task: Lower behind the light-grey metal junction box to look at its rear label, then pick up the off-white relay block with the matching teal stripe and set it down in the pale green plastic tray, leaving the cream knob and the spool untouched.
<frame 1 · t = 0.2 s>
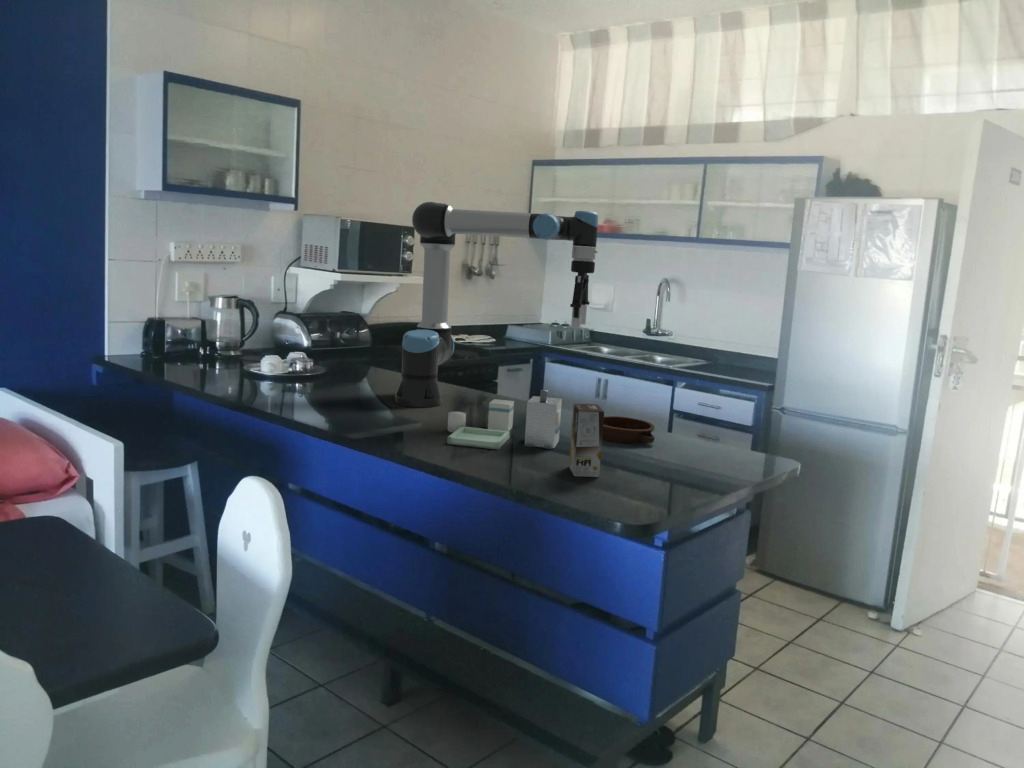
hand: (578, 326, 269), 28 cm above the worktop, fingers open, 13 cm apart
junction box: (542, 443, 227), on the worktop
relay block: (500, 428, 241), on the worktop
cream knob: (456, 430, 236), on the worktop
tray: (479, 440, 225), on the worktop
coffee box: (583, 472, 201), on the worktop
dish: (621, 439, 238), on the worktop
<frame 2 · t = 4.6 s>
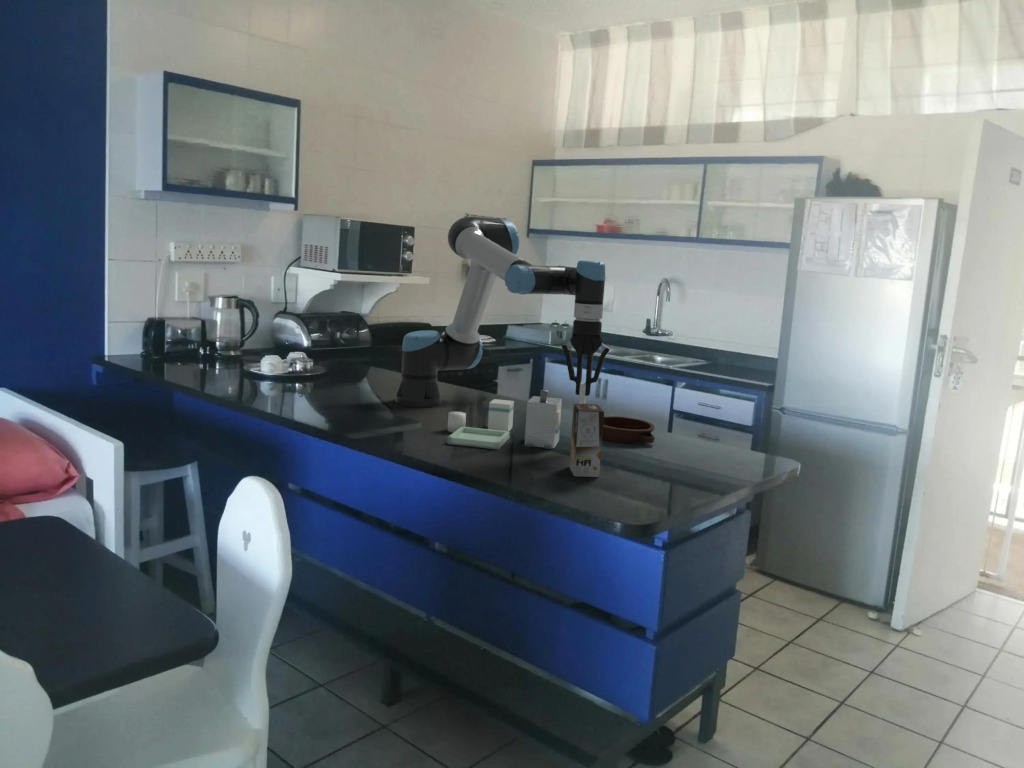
hand: (581, 407, 223), 11 cm above the worktop, fingers closed
nothing on the worktop moved.
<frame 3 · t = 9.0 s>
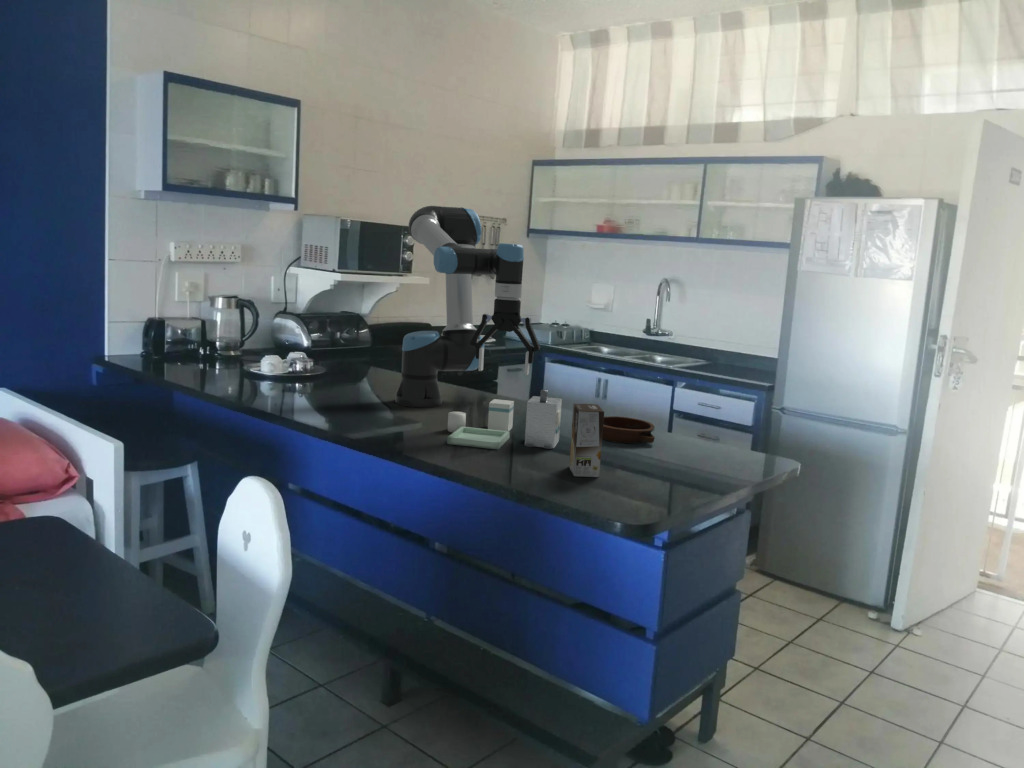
hand: (503, 372, 238), 17 cm above the worktop, fingers open, 13 cm apart
nothing on the worktop moved.
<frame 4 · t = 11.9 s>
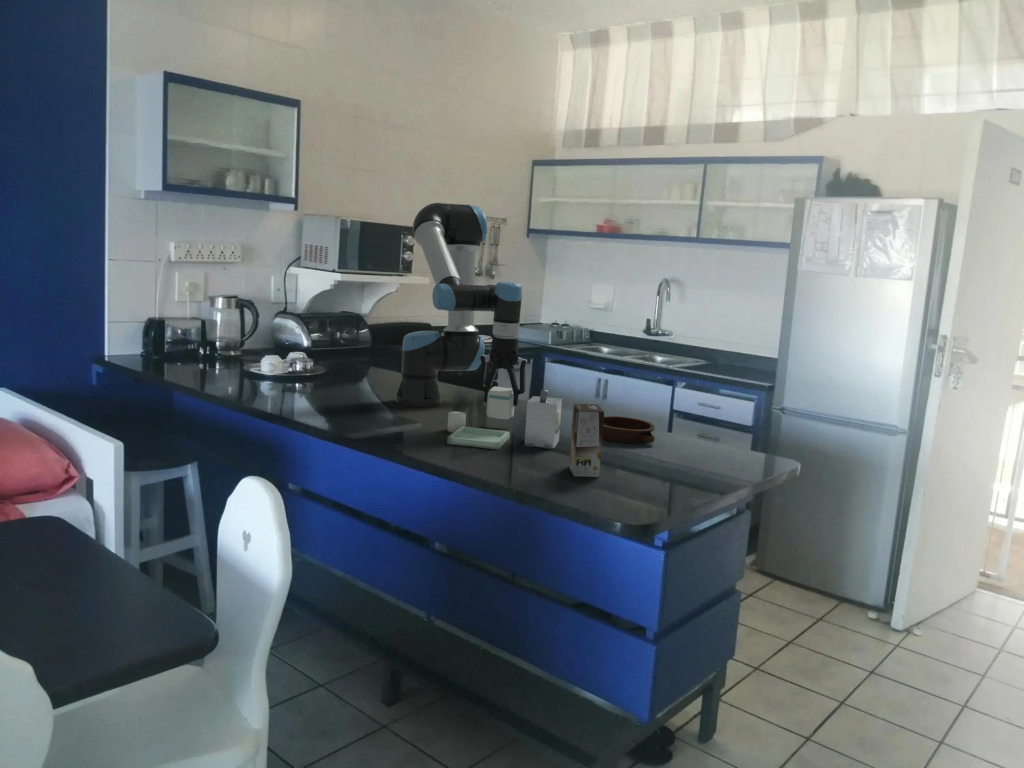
hand: (500, 414, 241), 4 cm above the worktop, fingers closed on relay block, 6 cm apart
relay block: (499, 416, 241), point 4 cm above the worktop, touching gripper
everything else where it was.
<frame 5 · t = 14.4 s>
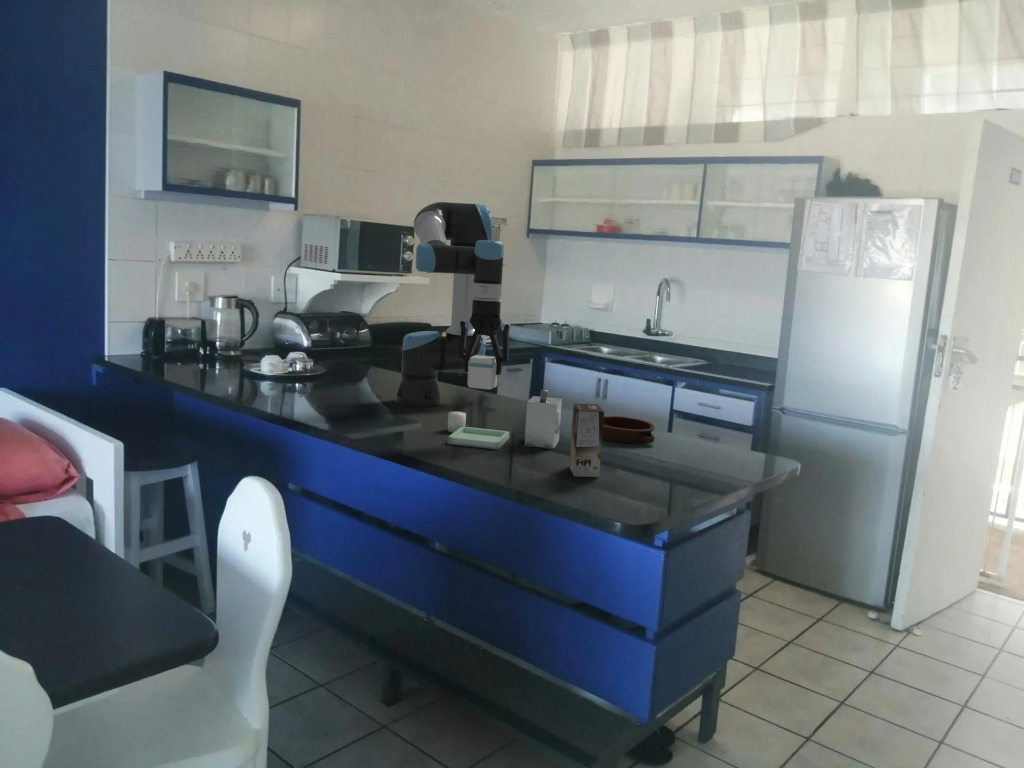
hand: (482, 385, 223), 15 cm above the worktop, fingers closed on relay block, 6 cm apart
relay block: (482, 386, 223), point 15 cm above the worktop, touching gripper
everything else where it was.
when the fingers open (1 cm above the worktop, at t = 17.1 s): relay block stays where it is, resting on tray.
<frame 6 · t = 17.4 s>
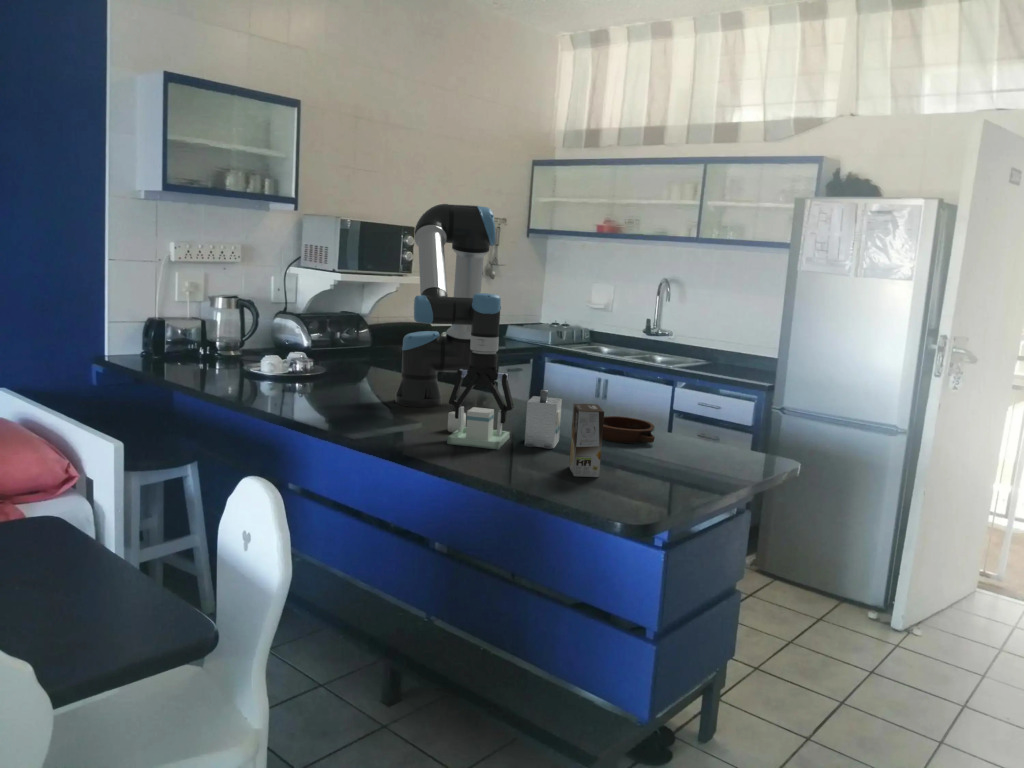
hand: (479, 432, 225), 2 cm above the worktop, fingers open, 10 cm apart
relay block: (479, 438, 225), resting on tray
everything else where it was.
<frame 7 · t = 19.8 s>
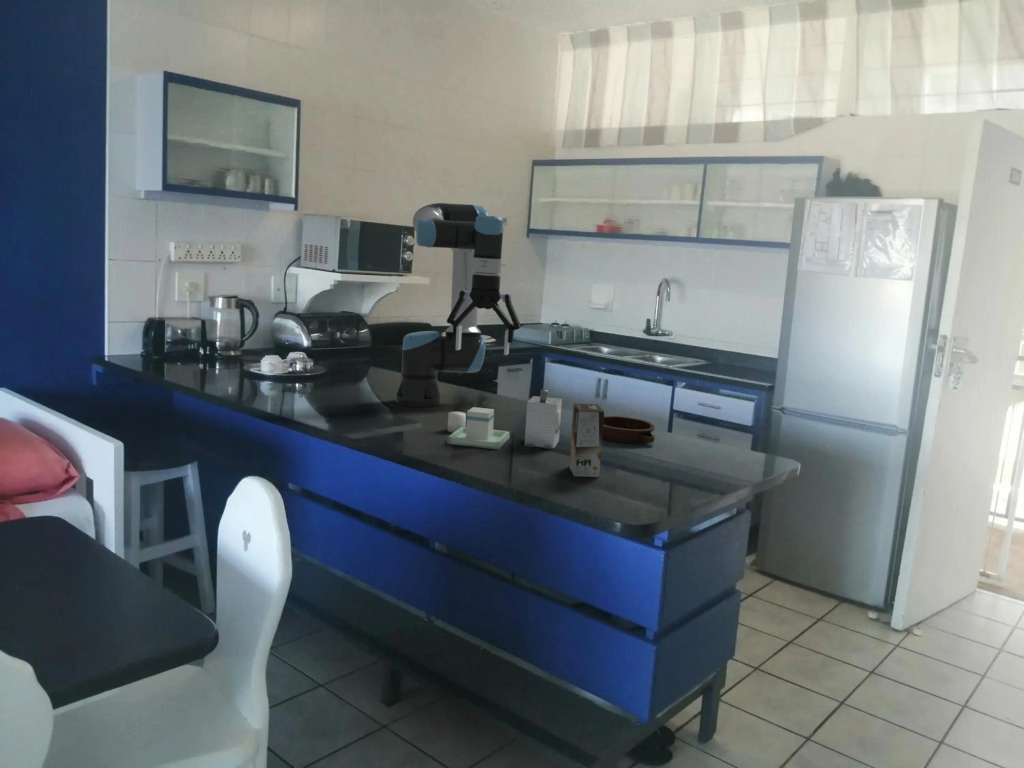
hand: (482, 352, 226), 24 cm above the worktop, fingers open, 13 cm apart
nothing on the worktop moved.
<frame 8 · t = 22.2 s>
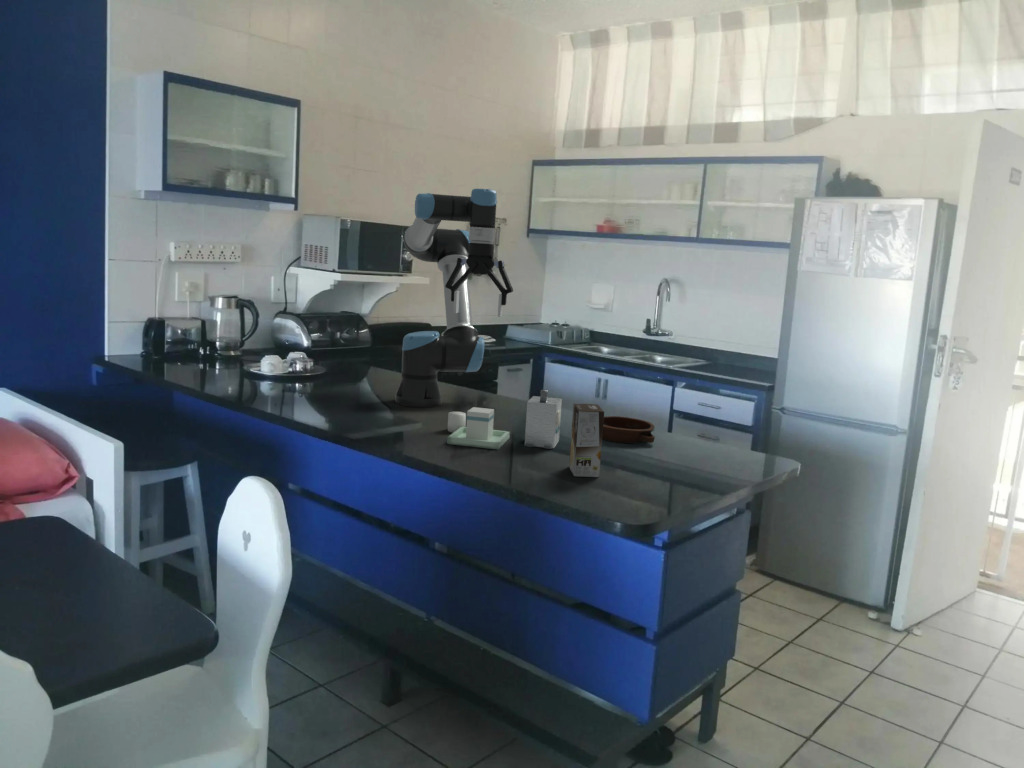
hand: (477, 314, 248), 32 cm above the worktop, fingers open, 13 cm apart
nothing on the worktop moved.
at the end: relay block inside the target area on the tray (0.0 cm from its centre), point 0.5 cm above the tray's base; the gripper is holding nothing; cream knob moved 0.1 cm from its start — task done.
